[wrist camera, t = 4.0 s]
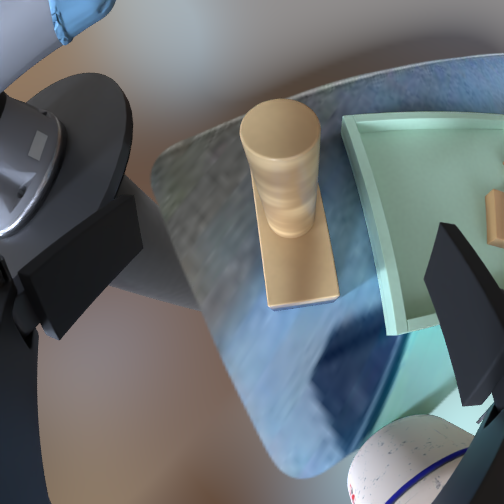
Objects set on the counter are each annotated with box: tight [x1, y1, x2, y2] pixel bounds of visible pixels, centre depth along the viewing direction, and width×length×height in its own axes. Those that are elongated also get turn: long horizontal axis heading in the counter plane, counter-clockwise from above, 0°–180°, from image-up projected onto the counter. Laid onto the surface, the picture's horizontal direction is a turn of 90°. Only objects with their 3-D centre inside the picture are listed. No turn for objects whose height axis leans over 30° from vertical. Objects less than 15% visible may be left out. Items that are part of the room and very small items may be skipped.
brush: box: [240, 99, 340, 311], centre depth 16 cm, size 4×10×12 cm, turn 7°
